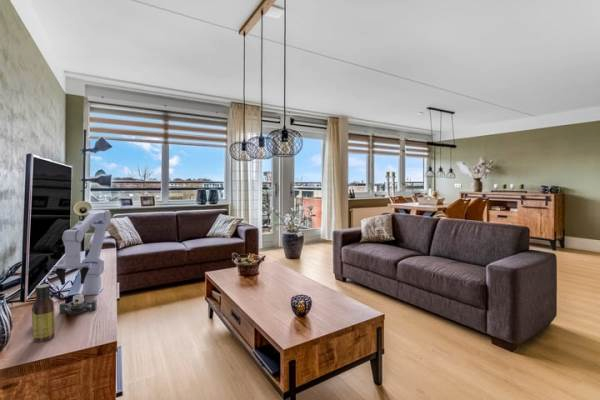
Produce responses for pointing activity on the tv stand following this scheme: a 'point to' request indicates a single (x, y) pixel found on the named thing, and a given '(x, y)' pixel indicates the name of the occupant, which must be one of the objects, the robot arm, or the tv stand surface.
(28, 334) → the tv stand surface
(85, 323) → the tv stand surface
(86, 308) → the collar stand
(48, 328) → the sauce bottle
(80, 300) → the air tube
